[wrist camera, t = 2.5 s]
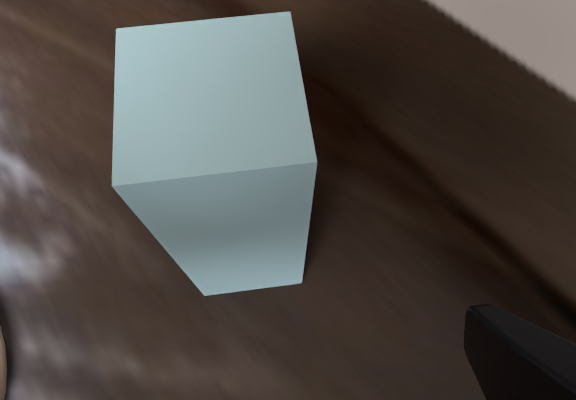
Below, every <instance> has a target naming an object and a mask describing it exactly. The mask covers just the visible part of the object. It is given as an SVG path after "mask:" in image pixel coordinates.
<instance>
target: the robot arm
mask: <svg viewBox="0 0 576 400" xmlns="http://www.w3.org/2000/svg"><path fill="white" fill-rule="evenodd" d="M464 349H465V353H466V356H467V358H468V360H469V363H470V365H471V367H472V369H473V371H474V374H475V376H476V378H477V380H478V382H479V385H480V387H481V389H482V391H483V393H484V395H485V398H486V400H576V344H574V343H572V342H570V341H568V340H566V339H564V338H562V337H559V336H557V335H555V334H553V333H551V332H549V331H547V330H545V329H543V328H540V327H538V326H536V325H534V324H532V323H530V322H528V321H526V320H524V319H521V318H519V317H517V316H515V315H513V314H511V313H509V312H507V311H505V310H502V309H500V308H498V307H496V306H494V305H491V304H483V305H475V306H470V307H469V308H468V309H467V311H466V315H465V330H464Z"/></svg>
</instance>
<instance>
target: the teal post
mask: <svg viewBox="0 0 576 400" xmlns="http://www.w3.org/2000/svg"><path fill="white" fill-rule="evenodd" d="M316 168H317V158H316V152H315V147H314V141H313V136H312V130H311V124H310V119H309V113H308V108H307V102H306V97H305V91H304V85H303V80H302V74H301V69H300V63H299V58H298V52H297V47H296V41H295V35H294V30H293V24H292V19H291V13H290V12H280V13H270V14H259V15H249V16H239V17H229V18H219V19H209V20H199V21H189V22H179V23H169V24H159V25H148V26H138V27H128V28H118V29H116V51H115V88H114V124H113V160H112V187H113V188H114V189H115V191H116V192H117V193H118V194H119V195H120V197H121V198H122V199H123V200H124V201H125V202H126V204H127V205H128V206H129V207H130V208H131V210H132V211H133V212H134V213H135V214H136V215H137V217H138V218H139V219H140V220H141V221H142V223H143V224H144V225H145V226H146V227H147V228H148V230H149V231H150V232H151V233H152V234H153V235H154V237H155V238H156V239H157V240H158V241H159V243H160V244H161V245H162V246H163V247H164V248H165V250H166V251H167V252H168V253H169V254H170V256H171V257H172V258H173V259H174V260H175V261H176V263H177V264H178V265H179V266H180V267H181V269H182V270H183V271H184V272H185V273H186V274H187V276H188V277H189V278H190V279H191V280H192V282H193V283H194V284H195V285H196V286H197V287H198V289H199V290H200V291H201V292H202V293H203V295H204V296H207V295H215V294H223V293H230V292H238V291H245V290H253V289H261V288H268V287H276V286H283V285H291V284H299V283H302V279H303V271H304V263H305V255H306V247H307V239H308V231H309V224H310V216H311V208H312V200H313V192H314V184H315V176H316Z"/></svg>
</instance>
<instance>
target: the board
mask: <svg viewBox="0 0 576 400" xmlns="http://www.w3.org/2000/svg"><path fill="white" fill-rule="evenodd" d="M6 379H7V360H6V348H5V342H4V338H3V334H2V329H1V326H0V400H4V398H5V392H6Z"/></svg>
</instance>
